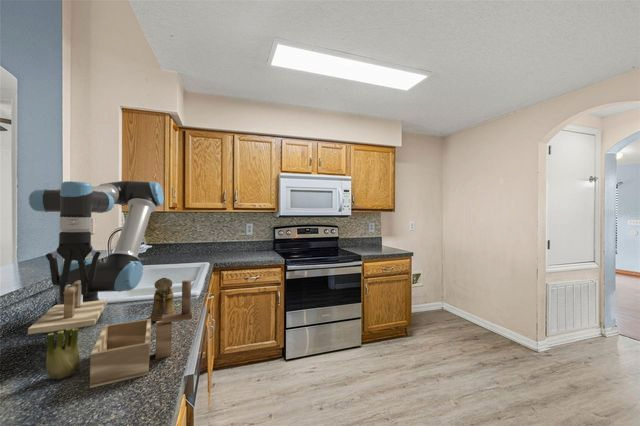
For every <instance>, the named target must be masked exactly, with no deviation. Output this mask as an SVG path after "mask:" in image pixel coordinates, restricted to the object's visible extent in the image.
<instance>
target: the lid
mask: <svg viewBox="0 0 640 426" xmlns="http://www.w3.org/2000/svg"><path fill="white" fill-rule="evenodd" d="M79 284H81V280H78V281H76V282H74V283H73V284H72V285H71V286H70V287H68V288H67V289H66V290H65V291H64V292H63V294H64V304H62V305H58V304H55V305H54V304H53V305H54V306H52V307H51V308H50V309H49V310H47V311H46V312H45V313H44V314H43V315H42V316H41V317H40V318H39V319H37V320H36V321H35V322H34V323H33V324H32V325H30V326H29V327H28V328H27V335H32V334H39V333H40V334H41V333H44V334H46V333H54V332H59V331H66V329H67V328H71V330H72V329H73V328H77V329H80V328H81V329H82V328H86V327H89V326H95V325H96V323H97V322H98V320H99V319H100V318H99V316H100V315H101V313H102V311H103V312H104V310H105V307H106V306H107V305H108V304H107V303H108V299H101V300H100V299H99V301H90V302H83V304H82V305H81V306H78V307H77V303H78V285H79Z"/></svg>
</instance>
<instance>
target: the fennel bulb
mask: <svg viewBox="0 0 640 426" xmlns="http://www.w3.org/2000/svg"><path fill="white" fill-rule="evenodd" d="M79 329H80V328H73V329H71V328H67V329H66V330H60V331H56V340H55V333H54V332H49V333H48V334H47V335H46V338H47V339H46V340H47V346H46V347H47V350H46V358H45V367H46V368H45V369H46V372H47V374H48V376H49V379H50V378H51V380H52V379H53V380H64V379H67V378H70V377H71V376H73V375H74V374H75V373H76V372H77V370H78V369H79V367H80V361H81V360H80V351H79V345H78V339H79V338H78V336H79ZM64 334H65V335H64ZM55 341H56V342H55Z"/></svg>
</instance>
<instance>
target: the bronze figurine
mask: <svg viewBox="0 0 640 426" xmlns="http://www.w3.org/2000/svg"><path fill="white" fill-rule="evenodd" d="M172 287H173V281H172V280H171V279H170V278H167V277H161V278H159V279H157V280H156V281H155V282H154V288H155V292H154V293H153V294H154V295H153V303H152V304H153V305H152V310H151V313H150V318H149V319H151V322H156V321H162V315H167V314H174V313H176V311H175V308H174V305H173V304H174V292H173V289H172Z"/></svg>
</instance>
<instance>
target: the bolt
mask: <svg viewBox="0 0 640 426" xmlns="http://www.w3.org/2000/svg"><path fill="white" fill-rule="evenodd" d="M191 297H192V280H190V279H186V280H185V279H184V280H182V281H181V312H177V313H176V312H175V313H174V314H167V315H162V324H163V323H169V322H172V323H173V322H175V323H176V322H180V321H187V320H191V319H192V318H193V313H192V311H191V308H192V307H191V302H192V300H191V299H192V298H191Z"/></svg>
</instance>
